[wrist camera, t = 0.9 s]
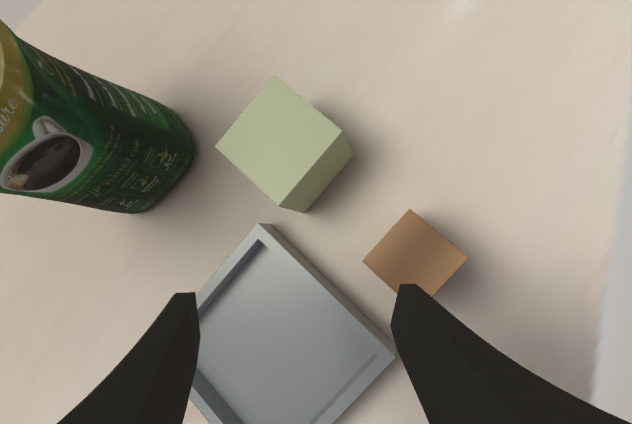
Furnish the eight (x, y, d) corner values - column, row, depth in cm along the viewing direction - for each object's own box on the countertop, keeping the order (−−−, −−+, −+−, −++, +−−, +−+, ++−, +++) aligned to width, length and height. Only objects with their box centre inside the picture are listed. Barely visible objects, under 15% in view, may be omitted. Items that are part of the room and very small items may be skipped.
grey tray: (395, 345, 24) (395, 357, 22) (278, 469, 26) (266, 492, 23) (270, 224, 27) (257, 222, 25) (170, 340, 29) (149, 349, 26)
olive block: (355, 154, 26) (342, 130, 20) (304, 213, 27) (278, 206, 21) (299, 108, 28) (273, 74, 22) (252, 165, 28) (214, 146, 22)
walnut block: (451, 253, 24) (468, 257, 18) (412, 294, 24) (417, 311, 19) (407, 215, 25) (409, 208, 19) (370, 256, 25) (362, 261, 20)
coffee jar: (161, 92, 31) (-172, -114, 13) (212, 154, 29) (-92, 16, 11) (91, 166, 32) (-303, 71, 14) (135, 229, 30) (-249, 215, 12)
